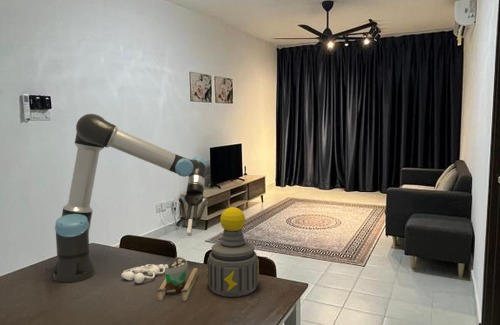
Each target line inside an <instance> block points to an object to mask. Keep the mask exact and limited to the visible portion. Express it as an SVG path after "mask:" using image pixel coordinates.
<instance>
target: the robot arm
mask: <svg viewBox="0 0 500 325" xmlns="http://www.w3.org/2000/svg"><path fill="white" fill-rule="evenodd" d="M75 130H76V134H75V140H74V145H75V146H76V148H77V151H76V155H75V156H76V157H75V162H74V168H73V173H72V178H71V184H70V188H69V195H68V201H67V203H66V205H64V206H63V207H62V211H61V212H62V213H61V216H60V217H59V218H57V219H56V221H55V227H54V230H55V240H56V241H55V242H56V243H55V244H56V258H57V259H56V261H55V264H54V268H53V272H52V279H53V281H55V282H58V283H75V282H80V281H84V280H87V279H90V277H93V276H94V275H95V273H96V269H95V268H96V267H95V264H94V261H93V259H92V257H91V255H90V236H89V233H90V228H91V221H92V216H93V211H94V210H93V209H92V207H91V206H90V205H91V200H92V195H93V189H94V184H95V178H96V172H97V166H98V161H99V156H100V152H101V151H102V150H104V148H105V149H107V148H110V147H111V148H113V149H116V150H118V151H120V152H123V153H125V154H127V155H129V156H133V157H135V158H138V159H140V160H143V161H145V162H146V163H150V164H153V165H155V166H156V167H160V168H162V169H164V170H167V171H169V172H171V173H174V174H177V175H178V176H180V177H183V178H184V177H188V179H187V185H186V186H187V187H186V192H185V195H184V197H183V198H179V199H178V202H179V204H180V206H181V207H180V208H181V216H182V220H183V221H185V228H186V229H187V230H186V234H187V235H186V236H188V237H189V236H190V237H191V236H192V234H193V229H195V227H196V222H197V221H200V220H201V218H202V217H203V213H204V211H205V209H206V207H207V205H208V204H209V200H208V198H204V189H205V183H206V175H207V174H206V173H207V161H206V159H204V158H203V157H201V156H199V157H197V156H195V157H193V158H191V159H190V158H187V157H184V156H182V155H179V154H176V153H174V152H172V151H169V150H167V149H165V148H162V147H161V146H158V145H155V144H154V143H151V142H148V141H146V140H143V139H141V138H139V137H137V136H135V135H133V134H130V133H128V132H125V131H123V130H120V129H118V126H117V125H115V124H113V123H111V122H109V121H107V120H105V118H104V117H102V116H101V115H99V114H95V113H87V114H84V115H83V116H81V117H79V119H78V121H77V122H76V126H75ZM185 203H186V204H187V205H188V206H187V211H186V208H185ZM200 204H201V206H200ZM199 206H200V207H199ZM198 208H199V209H198ZM192 209H193V212H192ZM191 215H192V218H191Z"/></svg>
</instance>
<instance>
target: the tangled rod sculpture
mask: <svg viewBox="0 0 500 325" xmlns="http://www.w3.org/2000/svg"><path fill="white" fill-rule="evenodd" d="M165 268H169V265H168V264H163V263H160V264H153V263H152V264H151V263H149V264H148V263H147V264H145V265H141V266H135V267H132V268H129V269H126V270H125V269H124V270H123V272H122V273H121V277H122V278H123V279H125V280H127V281H133V280H134V282H135V283H136V284H141V283H143V282H144V281H145V279H154V278H155V276H157V275H163V274H165ZM161 270H162V271H161ZM145 272H147V275H148V276H147V275H145V274H144V273H145Z"/></svg>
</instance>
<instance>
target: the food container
mask: <svg viewBox="0 0 500 325" xmlns="http://www.w3.org/2000/svg"><path fill="white" fill-rule="evenodd" d="M168 267H169V268H165V272H164V274H165V279H166V286H167V292H166V295H174V294H175V295H176V294H179V293H182V292H181V290H182V289H184V287H185V285H186V278H187V269H188V268H189V266H188V261H187V259H185V258H184V257H180V256H175V260H174V261H173V262H171V263H170V265H168Z"/></svg>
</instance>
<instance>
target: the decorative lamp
mask: <svg viewBox="0 0 500 325" xmlns="http://www.w3.org/2000/svg"><path fill="white" fill-rule="evenodd" d="M245 224H246V216H245V214H244V212H243V210H241V209H240V208H238V207H235V206H231V207H228V208H226V209H224V210H223V212H222V213H221V215H220V225H221V227H222V229H223V234H222V236H221V240H220V241H218V242H216V243H214V244H213V245H212V246H211V252H210V253H209V254H208V255H209V256H208V258H207V261H206V266H207V268H206V269H207V270H206V277H207V284H208V286H209V290H210V291H211V292H212V293H213V294H216V295H218V296H222V297H224V298H225V297H228V298H236V297H239V298H240V297H243V296H247V295H249V294H251V293H253V292H254V291H255V290H256V289H257V286H258V285H259V278H260V277H259V275H260V274H259V273H260V272H259V271H260V270H259V269H260V268H259V267H260V266H259V265H260V264H259V258H258V255H257V253H256V251H255V246H254V244H252V243H251V242H249V241H246V240H245V238H244V234H243V227H244V226H245Z"/></svg>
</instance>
